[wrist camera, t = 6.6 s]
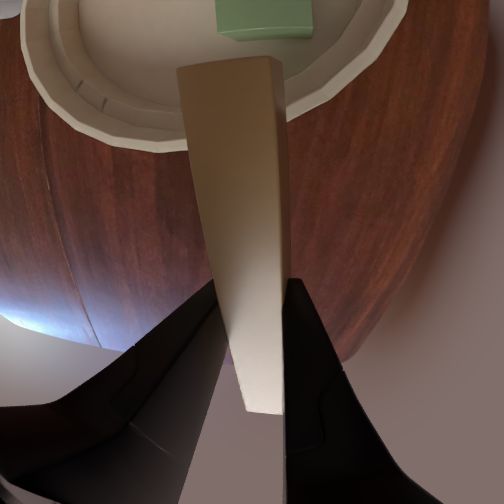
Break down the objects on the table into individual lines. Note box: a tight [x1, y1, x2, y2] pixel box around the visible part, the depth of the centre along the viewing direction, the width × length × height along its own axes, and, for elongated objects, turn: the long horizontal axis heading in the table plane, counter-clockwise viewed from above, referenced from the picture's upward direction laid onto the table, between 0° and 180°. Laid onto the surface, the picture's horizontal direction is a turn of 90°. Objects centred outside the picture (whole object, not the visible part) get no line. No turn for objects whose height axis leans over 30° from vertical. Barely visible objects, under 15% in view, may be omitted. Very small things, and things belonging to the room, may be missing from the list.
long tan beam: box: [176, 55, 291, 415], centre depth 8 cm, size 2×12×2 cm, turn 5°
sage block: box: [215, 0, 314, 42], centre depth 9 cm, size 4×4×4 cm
